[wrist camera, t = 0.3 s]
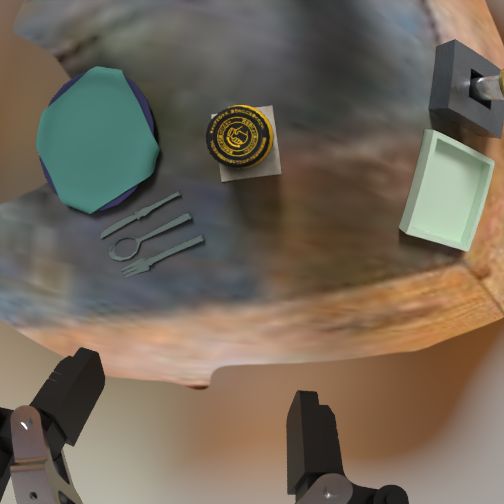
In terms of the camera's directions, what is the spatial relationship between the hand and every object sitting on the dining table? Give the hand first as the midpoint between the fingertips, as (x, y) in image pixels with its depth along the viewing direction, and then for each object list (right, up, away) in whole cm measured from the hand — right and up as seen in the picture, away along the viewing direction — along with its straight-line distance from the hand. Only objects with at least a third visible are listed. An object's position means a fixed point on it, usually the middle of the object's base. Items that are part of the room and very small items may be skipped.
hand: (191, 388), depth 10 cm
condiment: (+2, +18, +24) cm, 30 cm away
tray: (+29, +14, +24) cm, 40 cm away
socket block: (+31, +27, +18) cm, 45 cm away
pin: (+31, +27, +18) cm, 45 cm away
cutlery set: (-17, +16, +26) cm, 35 cm away
